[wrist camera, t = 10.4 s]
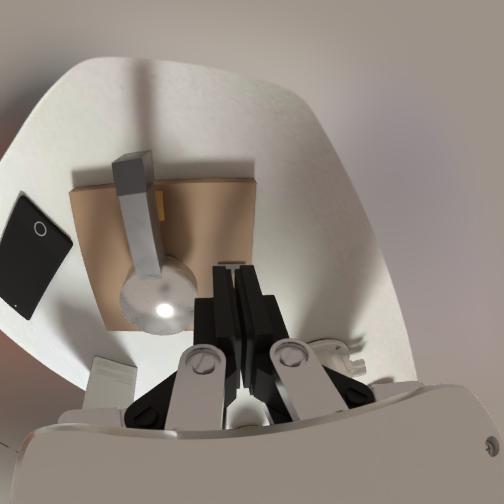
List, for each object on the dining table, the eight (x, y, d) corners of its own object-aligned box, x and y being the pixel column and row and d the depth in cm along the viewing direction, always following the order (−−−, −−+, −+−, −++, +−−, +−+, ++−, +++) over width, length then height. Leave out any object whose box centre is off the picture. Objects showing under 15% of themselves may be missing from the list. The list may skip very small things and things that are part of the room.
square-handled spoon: (201, 310, 27) (202, 333, 24) (136, 315, 26) (131, 337, 23) (182, 146, 19) (178, 153, 16) (97, 159, 18) (81, 168, 15)
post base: (253, 178, 25) (261, 190, 22) (245, 319, 34) (250, 342, 31) (75, 187, 22) (57, 201, 19) (109, 322, 31) (103, 344, 28)
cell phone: (75, 241, 25) (72, 245, 25) (30, 317, 29) (28, 322, 28) (24, 192, 21) (20, 195, 20) (-10, 282, 25) (-13, 285, 24)
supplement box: (93, 354, 34) (78, 425, 23) (138, 367, 36) (132, 440, 26) (93, 377, 37) (82, 440, 26) (133, 388, 39) (128, 453, 29)
